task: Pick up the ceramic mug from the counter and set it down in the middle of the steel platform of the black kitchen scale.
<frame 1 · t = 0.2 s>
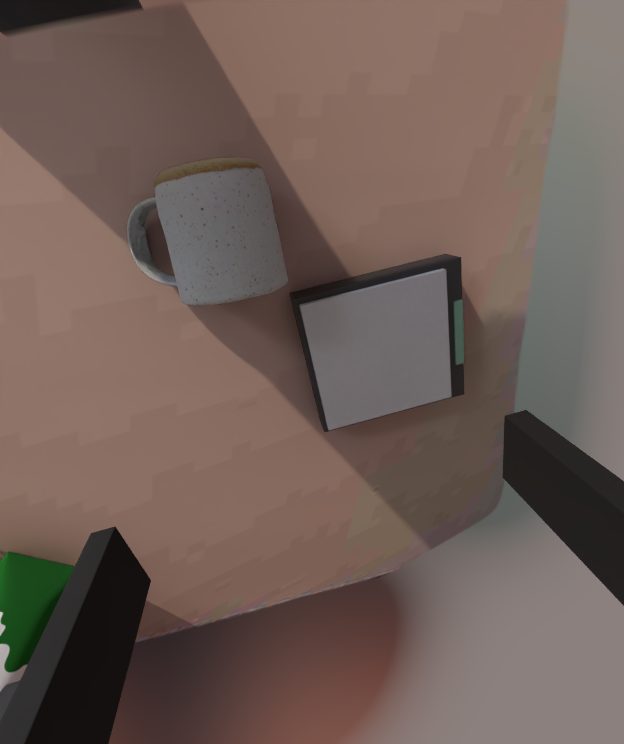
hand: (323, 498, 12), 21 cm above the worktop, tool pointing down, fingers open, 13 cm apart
ceramic mug: (209, 238, 28), on the worktop
kitchen scale: (378, 342, 33), on the worktop
milk carton: (36, 578, 39), on the worktop
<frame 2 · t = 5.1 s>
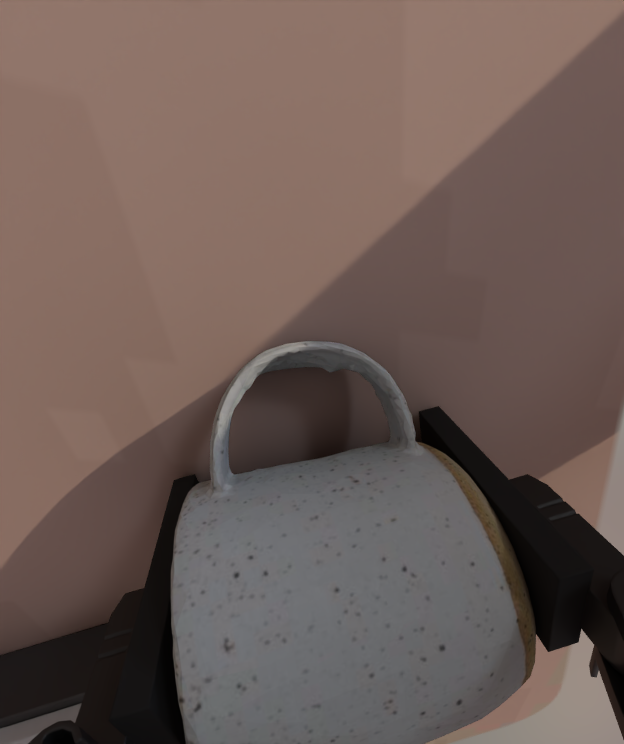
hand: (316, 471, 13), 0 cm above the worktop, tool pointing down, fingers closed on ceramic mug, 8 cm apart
ceramic mug: (306, 465, 14), on the worktop, touching gripper
kitchen scale: (131, 712, 18), on the worktop
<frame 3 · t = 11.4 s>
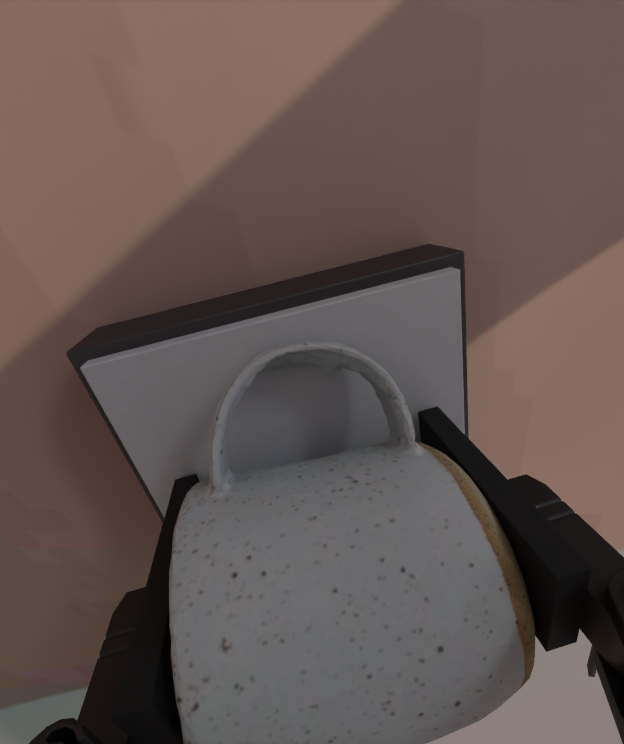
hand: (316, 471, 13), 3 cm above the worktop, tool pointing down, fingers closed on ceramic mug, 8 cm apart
ceramic mug: (306, 465, 14), point 3 cm above the worktop, touching gripper
kitchen scale: (307, 432, 17), on the worktop
when the fingers open (3 cm above the worktop, at t = 11.7 s): ceramic mug stays where it is, resting on kitchen scale.
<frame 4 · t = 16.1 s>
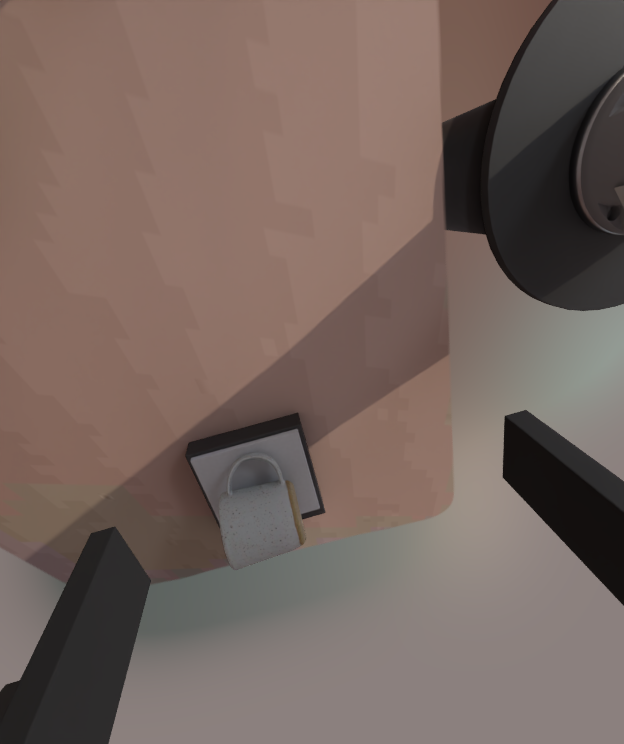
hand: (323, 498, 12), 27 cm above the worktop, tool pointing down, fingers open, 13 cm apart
ceramic mug: (256, 486, 41), point 3 cm above the worktop, touching kitchen scale
kitchen scale: (260, 472, 44), on the worktop
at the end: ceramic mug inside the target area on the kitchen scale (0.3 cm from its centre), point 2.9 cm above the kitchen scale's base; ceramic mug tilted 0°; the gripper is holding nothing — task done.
